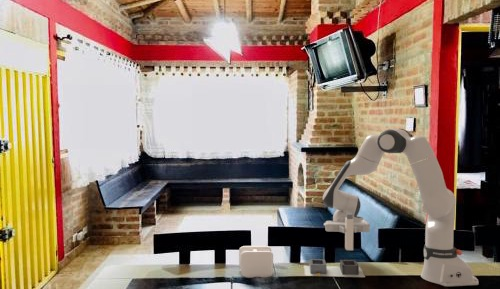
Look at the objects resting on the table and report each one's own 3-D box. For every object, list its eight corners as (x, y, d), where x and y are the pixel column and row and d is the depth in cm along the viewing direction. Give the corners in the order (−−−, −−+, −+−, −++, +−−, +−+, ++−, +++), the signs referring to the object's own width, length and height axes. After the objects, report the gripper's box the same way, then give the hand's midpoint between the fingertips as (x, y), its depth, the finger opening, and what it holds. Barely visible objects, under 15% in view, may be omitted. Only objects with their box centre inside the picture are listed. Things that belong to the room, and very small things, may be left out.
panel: (359, 269, 191) (359, 258, 191) (365, 279, 178) (365, 268, 178) (303, 267, 193) (303, 257, 193) (305, 277, 180) (305, 266, 180)
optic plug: (351, 247, 187) (351, 212, 186) (353, 250, 183) (353, 214, 182) (345, 247, 187) (345, 212, 186) (346, 250, 183) (346, 214, 182)
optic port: (324, 267, 190) (324, 259, 190) (326, 274, 182) (326, 265, 182) (309, 267, 191) (309, 259, 190) (310, 273, 183) (310, 264, 182)
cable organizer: (239, 278, 180) (239, 252, 180) (239, 270, 191) (239, 245, 190) (273, 277, 181) (273, 251, 180) (271, 269, 191) (271, 244, 191)
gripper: (323, 216, 198) (326, 223, 184) (366, 217, 196) (372, 224, 183) (323, 229, 198) (325, 237, 184) (366, 230, 197) (372, 238, 183)
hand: (349, 230), depth 184 cm, fingers closed on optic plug, 3 cm apart
